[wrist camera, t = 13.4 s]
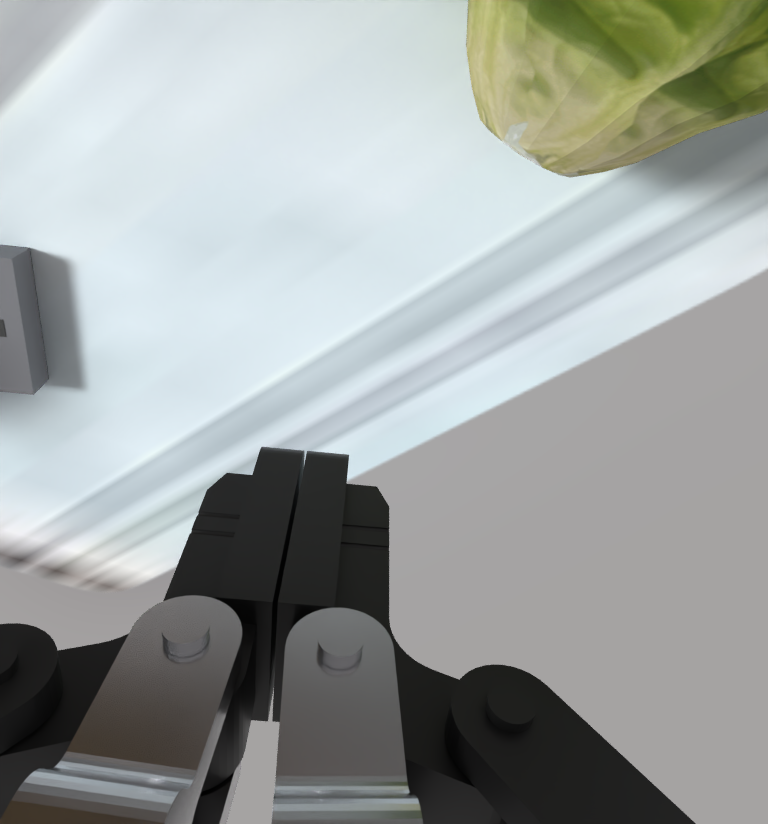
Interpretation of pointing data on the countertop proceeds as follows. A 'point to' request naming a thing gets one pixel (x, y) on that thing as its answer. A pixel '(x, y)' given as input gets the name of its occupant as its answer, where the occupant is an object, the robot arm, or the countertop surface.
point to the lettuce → (613, 75)
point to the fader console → (20, 325)
